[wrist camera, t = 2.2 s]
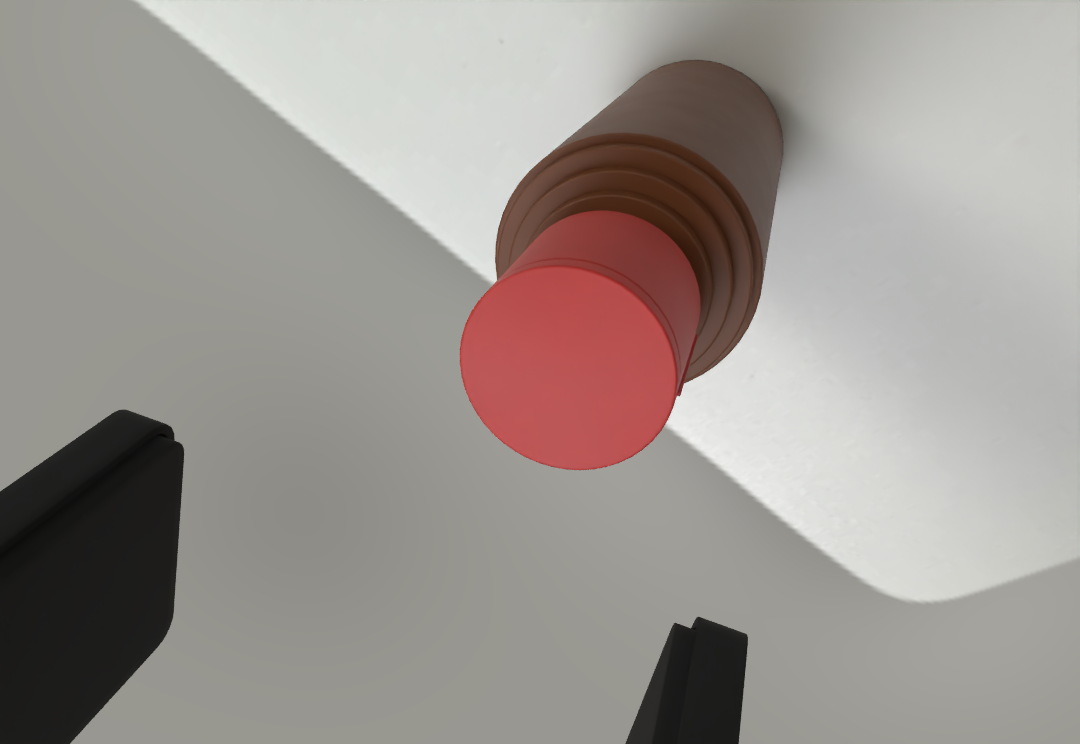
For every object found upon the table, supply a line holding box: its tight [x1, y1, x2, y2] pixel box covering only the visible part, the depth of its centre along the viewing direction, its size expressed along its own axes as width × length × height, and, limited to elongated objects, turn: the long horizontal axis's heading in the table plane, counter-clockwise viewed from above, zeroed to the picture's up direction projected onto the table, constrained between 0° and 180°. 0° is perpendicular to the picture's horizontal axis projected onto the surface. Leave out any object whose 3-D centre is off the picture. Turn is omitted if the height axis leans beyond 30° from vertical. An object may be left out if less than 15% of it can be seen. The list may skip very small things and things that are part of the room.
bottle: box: [495, 60, 783, 383], centre depth 26 cm, size 6×6×20 cm
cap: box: [460, 210, 700, 470], centre depth 19 cm, size 4×4×4 cm
